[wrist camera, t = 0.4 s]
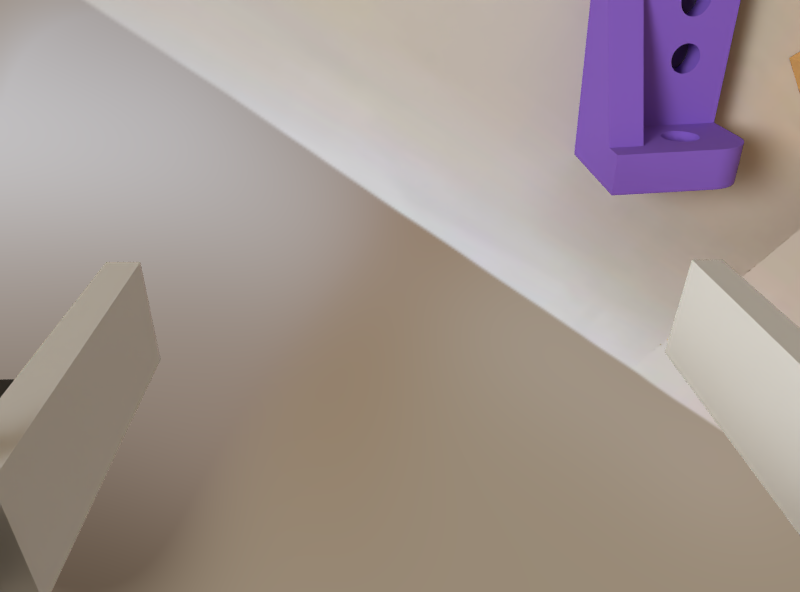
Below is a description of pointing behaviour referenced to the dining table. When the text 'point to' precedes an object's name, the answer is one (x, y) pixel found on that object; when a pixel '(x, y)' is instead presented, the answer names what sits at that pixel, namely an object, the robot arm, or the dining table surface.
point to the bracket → (656, 97)
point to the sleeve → (796, 67)
